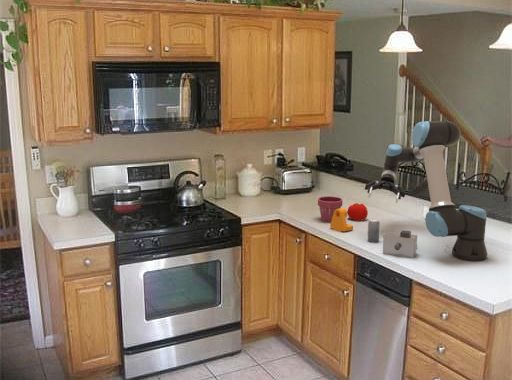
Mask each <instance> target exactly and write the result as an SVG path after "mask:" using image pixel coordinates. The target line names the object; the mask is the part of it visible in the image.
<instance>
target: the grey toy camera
mask: <svg viewBox="0 0 512 380" xmlns="http://www.w3.org/2000/svg"><path fill="white" fill-rule="evenodd" d="M382 240H383V241H382V254H384V255H391V256H398V257H403V258H404V257H405V258H412V259H413V258H415V256H416V254H417V247H418V234H412V231H411V230H405V229H404V230H403V229H402V230H401V231H400V232H396V231H388V230H387V231H386V232H385V233H384V234H383V239H382Z"/></svg>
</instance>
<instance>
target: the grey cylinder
mask: <svg viewBox="0 0 512 380" xmlns="http://www.w3.org/2000/svg"><path fill="white" fill-rule="evenodd" d="M380 224H381V222H380V220H378V219H376V218H370V219H369V220H368V222H367V242H368V243H379V242H380Z"/></svg>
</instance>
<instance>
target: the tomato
mask: <svg viewBox="0 0 512 380" xmlns="http://www.w3.org/2000/svg"><path fill="white" fill-rule="evenodd" d="M368 214H369V212H368V208H367V206H366V205H365V204H364V203H357V202H356V203H353V204H352V205H351V204H350V205H349V206H348V208H347V217H348V218H349V219H352V220H353V221H355V222H357V221H363V220H366V219H367V217H368Z"/></svg>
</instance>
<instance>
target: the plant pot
mask: <svg viewBox="0 0 512 380" xmlns="http://www.w3.org/2000/svg"><path fill="white" fill-rule="evenodd" d="M317 206H318V207H319V212H320V217H321V220H322V222H324V223H325V222H326V223H331V220H332V217H333V214H334V211H335V210H336V209H340V208H342V207H343V198H341V197H339V196H330V195H327V196H320V197H318V198H317Z"/></svg>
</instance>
